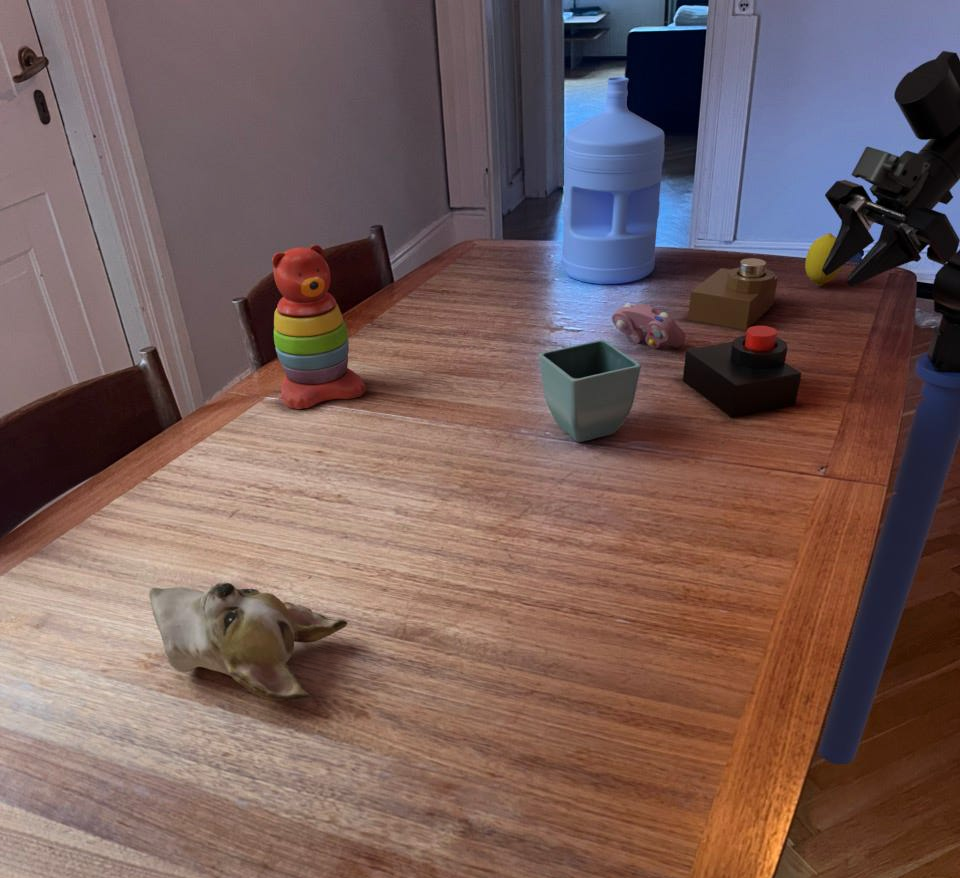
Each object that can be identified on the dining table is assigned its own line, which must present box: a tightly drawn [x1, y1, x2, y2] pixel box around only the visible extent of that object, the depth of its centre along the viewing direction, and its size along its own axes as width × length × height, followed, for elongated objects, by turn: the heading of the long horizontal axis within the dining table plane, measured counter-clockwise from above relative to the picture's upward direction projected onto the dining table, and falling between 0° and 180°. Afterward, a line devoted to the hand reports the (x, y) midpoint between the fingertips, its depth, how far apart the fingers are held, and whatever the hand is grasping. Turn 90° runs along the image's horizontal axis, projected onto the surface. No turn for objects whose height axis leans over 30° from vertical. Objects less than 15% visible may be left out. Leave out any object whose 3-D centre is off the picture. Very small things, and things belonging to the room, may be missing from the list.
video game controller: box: [611, 302, 686, 350], centre depth 128 cm, size 10×5×7 cm, turn 47°
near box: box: [682, 334, 803, 419], centre depth 114 cm, size 10×12×6 cm
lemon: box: [804, 232, 843, 287], centre depth 143 cm, size 6×6×8 cm
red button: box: [745, 325, 778, 351], centre depth 113 cm, size 4×4×2 cm
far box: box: [687, 266, 779, 331], centre depth 136 cm, size 10×12×6 cm
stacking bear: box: [271, 244, 367, 410], centre depth 115 cm, size 11×10×18 cm
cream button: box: [738, 257, 767, 278], centre depth 133 cm, size 4×4×2 cm
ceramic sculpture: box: [148, 582, 348, 702], centre depth 75 cm, size 11×9×15 cm
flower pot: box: [538, 339, 642, 443], centre depth 106 cm, size 9×9×9 cm
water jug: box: [560, 76, 666, 285], centre depth 146 cm, size 16×16×28 cm
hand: (835, 278), depth 111 cm, fingers open, 4 cm apart
